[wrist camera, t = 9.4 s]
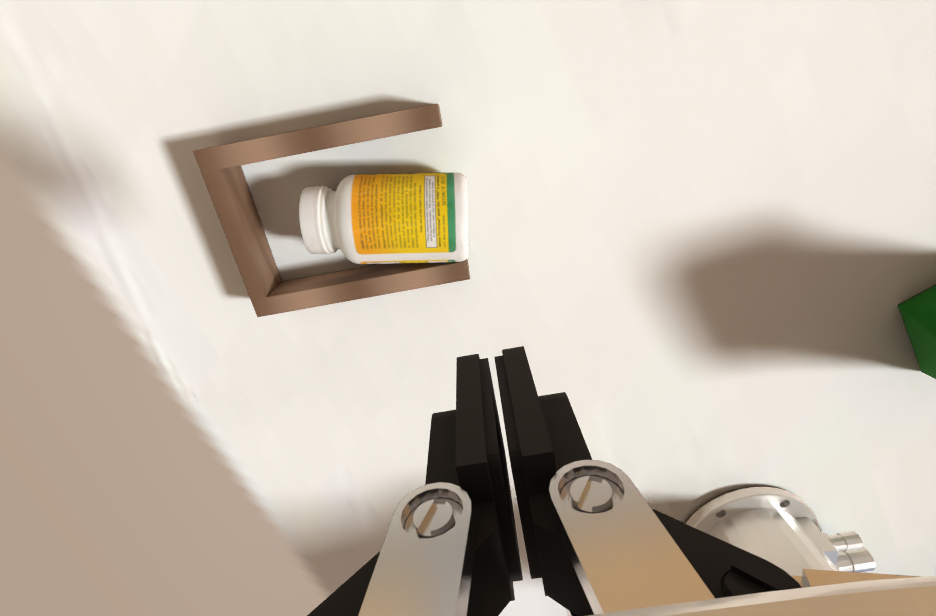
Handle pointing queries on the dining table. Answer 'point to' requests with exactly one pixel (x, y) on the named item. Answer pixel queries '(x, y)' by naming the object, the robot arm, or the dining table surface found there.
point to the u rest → (250, 237)
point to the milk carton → (922, 328)
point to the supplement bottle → (388, 218)
